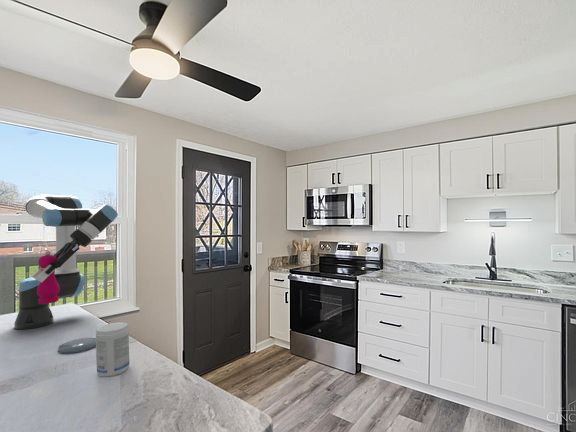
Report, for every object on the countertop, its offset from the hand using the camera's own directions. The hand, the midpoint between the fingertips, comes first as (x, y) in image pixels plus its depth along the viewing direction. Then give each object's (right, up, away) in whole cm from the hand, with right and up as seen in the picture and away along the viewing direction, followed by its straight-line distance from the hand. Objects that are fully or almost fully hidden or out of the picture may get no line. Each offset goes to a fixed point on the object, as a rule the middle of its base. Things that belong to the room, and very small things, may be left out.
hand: (36, 279), depth 122 cm
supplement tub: (+39, -27, -17) cm, 50 cm away
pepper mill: (+3, -10, +2) cm, 10 cm away
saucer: (+13, -28, +5) cm, 31 cm away
